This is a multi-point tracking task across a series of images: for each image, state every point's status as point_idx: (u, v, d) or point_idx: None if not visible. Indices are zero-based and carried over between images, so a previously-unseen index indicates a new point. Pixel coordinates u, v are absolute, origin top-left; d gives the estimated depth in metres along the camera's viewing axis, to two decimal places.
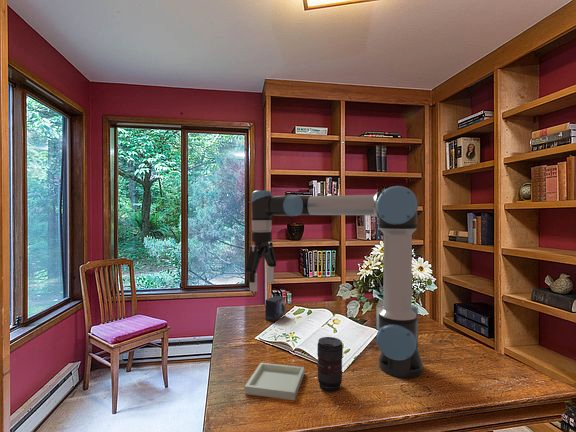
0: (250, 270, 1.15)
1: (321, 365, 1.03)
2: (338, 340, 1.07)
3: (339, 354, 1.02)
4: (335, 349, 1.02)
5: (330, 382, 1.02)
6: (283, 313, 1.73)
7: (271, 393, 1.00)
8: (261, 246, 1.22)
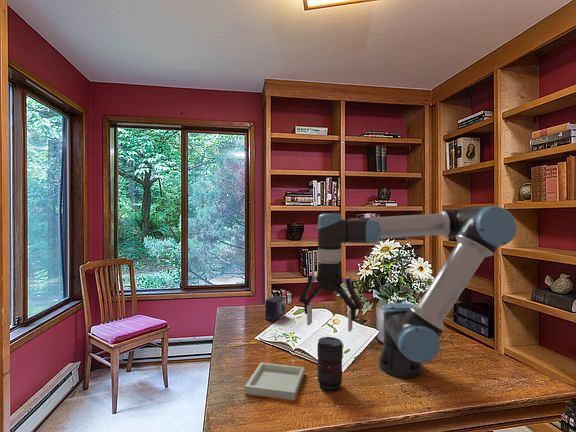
0: None
1: (321, 365, 1.03)
2: (338, 340, 1.07)
3: (339, 354, 1.02)
4: (335, 349, 1.02)
5: (330, 382, 1.02)
6: (283, 313, 1.73)
7: (271, 393, 1.00)
8: (321, 278, 1.05)
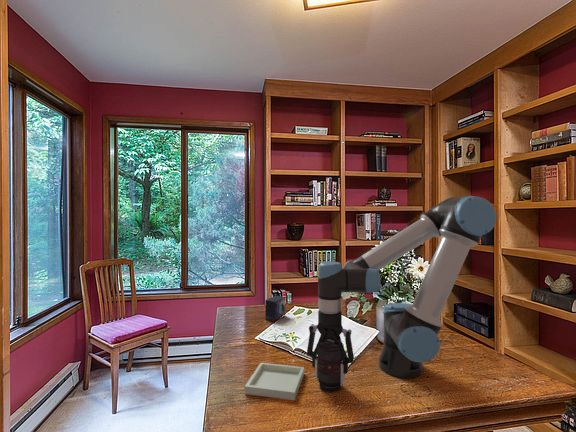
0: None
1: (321, 365, 1.03)
2: None
3: (339, 354, 1.02)
4: (335, 349, 1.02)
5: (330, 382, 1.02)
6: (283, 313, 1.73)
7: (271, 393, 1.00)
8: (321, 326, 1.05)
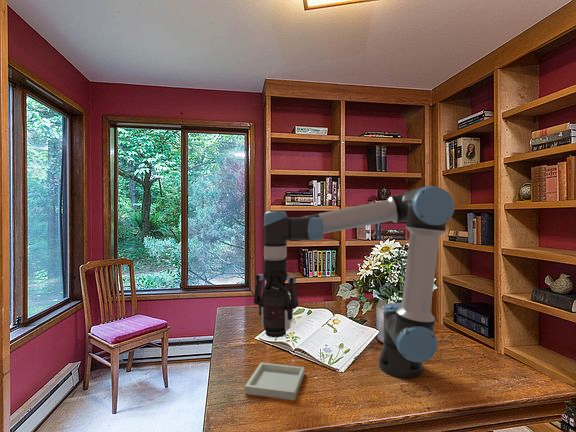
0: None
1: (265, 311, 1.05)
2: None
3: (283, 299, 1.04)
4: (279, 295, 1.03)
5: (274, 327, 1.04)
6: None
7: (271, 393, 1.00)
8: (266, 274, 1.07)
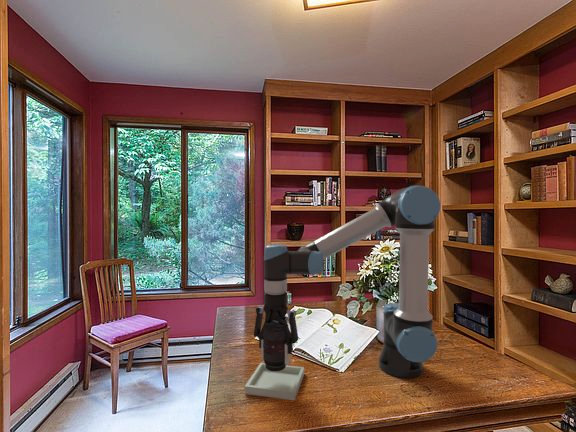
0: None
1: (265, 345, 1.05)
2: None
3: (283, 334, 1.04)
4: (279, 329, 1.04)
5: (274, 361, 1.04)
6: None
7: (271, 393, 1.00)
8: (267, 307, 1.07)
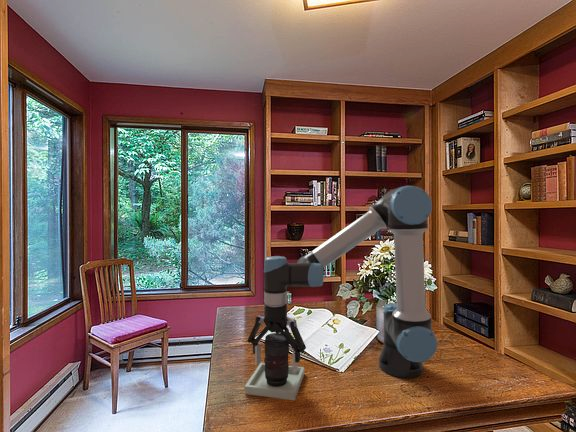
0: None
1: (267, 361, 1.05)
2: None
3: (284, 349, 1.04)
4: (280, 345, 1.04)
5: (275, 377, 1.04)
6: None
7: (271, 393, 1.00)
8: (267, 320, 1.07)
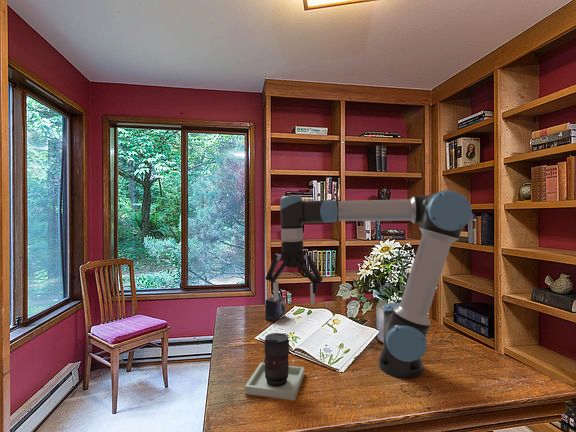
0: None
1: (267, 361, 1.05)
2: (285, 336, 1.09)
3: (284, 349, 1.04)
4: (280, 345, 1.04)
5: (275, 377, 1.04)
6: (283, 313, 1.73)
7: (271, 393, 1.00)
8: (284, 256, 1.13)
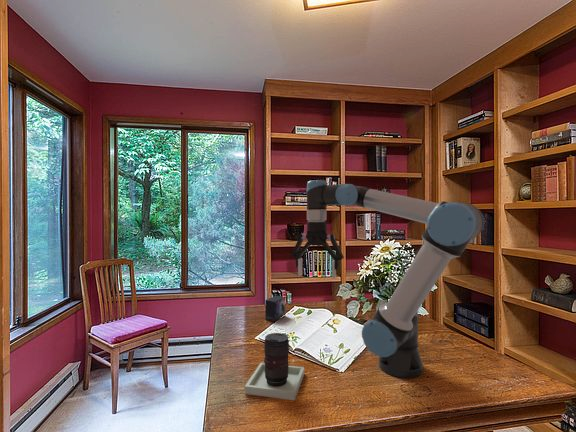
0: None
1: (266, 361, 1.05)
2: (285, 336, 1.09)
3: (284, 349, 1.04)
4: (280, 345, 1.04)
5: (275, 377, 1.04)
6: (283, 313, 1.73)
7: (271, 393, 1.00)
8: (309, 235, 1.24)
